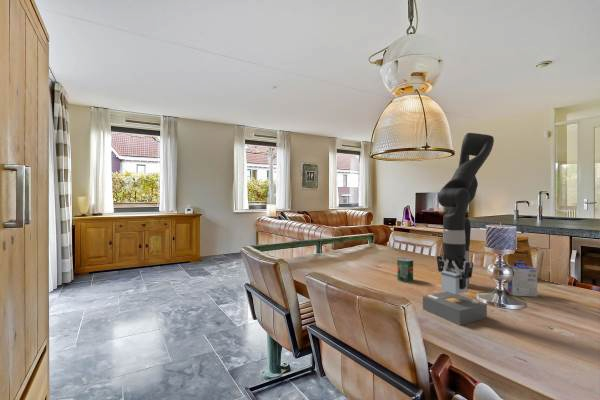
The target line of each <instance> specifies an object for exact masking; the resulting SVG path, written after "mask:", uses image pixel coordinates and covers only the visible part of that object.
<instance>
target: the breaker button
mask: <svg viewBox="0 0 600 400" xmlns="http://www.w3.org/2000/svg"><path fill="white" fill-rule="evenodd" d="M444 300H447V301H450V302H452V303H459V302H463V301H461V300H458V299H455V298H448V299H444Z"/></svg>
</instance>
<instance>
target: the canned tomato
mask: <svg viewBox="0 0 600 400" xmlns="http://www.w3.org/2000/svg"><path fill="white" fill-rule="evenodd" d="M396 259H397V264H396V265H397V266H396V267H397V268H396V269H397V273H396V274H397V275H396V277H397V281H398V282H402V283H412V282H414V259H413V258H410V257H398V258H396Z"/></svg>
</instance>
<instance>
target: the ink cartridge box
mask: <svg viewBox="0 0 600 400" xmlns="http://www.w3.org/2000/svg"><path fill="white" fill-rule="evenodd" d="M515 262H516V266H510V267H511V268H512V269H513V271H514V278H513V279H512V280H511V281H510V282H508V283H507V293H508V294H509V295H511V296H516V297H517V296H520V297H538V268H537V267H531V266H526V265H525V262H524V261H515ZM517 263H523V264H517Z"/></svg>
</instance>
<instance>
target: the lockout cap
mask: <svg viewBox="0 0 600 400" xmlns="http://www.w3.org/2000/svg"><path fill="white" fill-rule="evenodd" d="M440 274H441V290H442V291H443V292H450V293H453V294H458V295H461V294H464V293H468V287H467V279H466V288H465V289H460V288H459V279H460V278H459V274H458V273H456V270H447V271H442V272H440ZM462 276H463V274H462Z"/></svg>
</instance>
